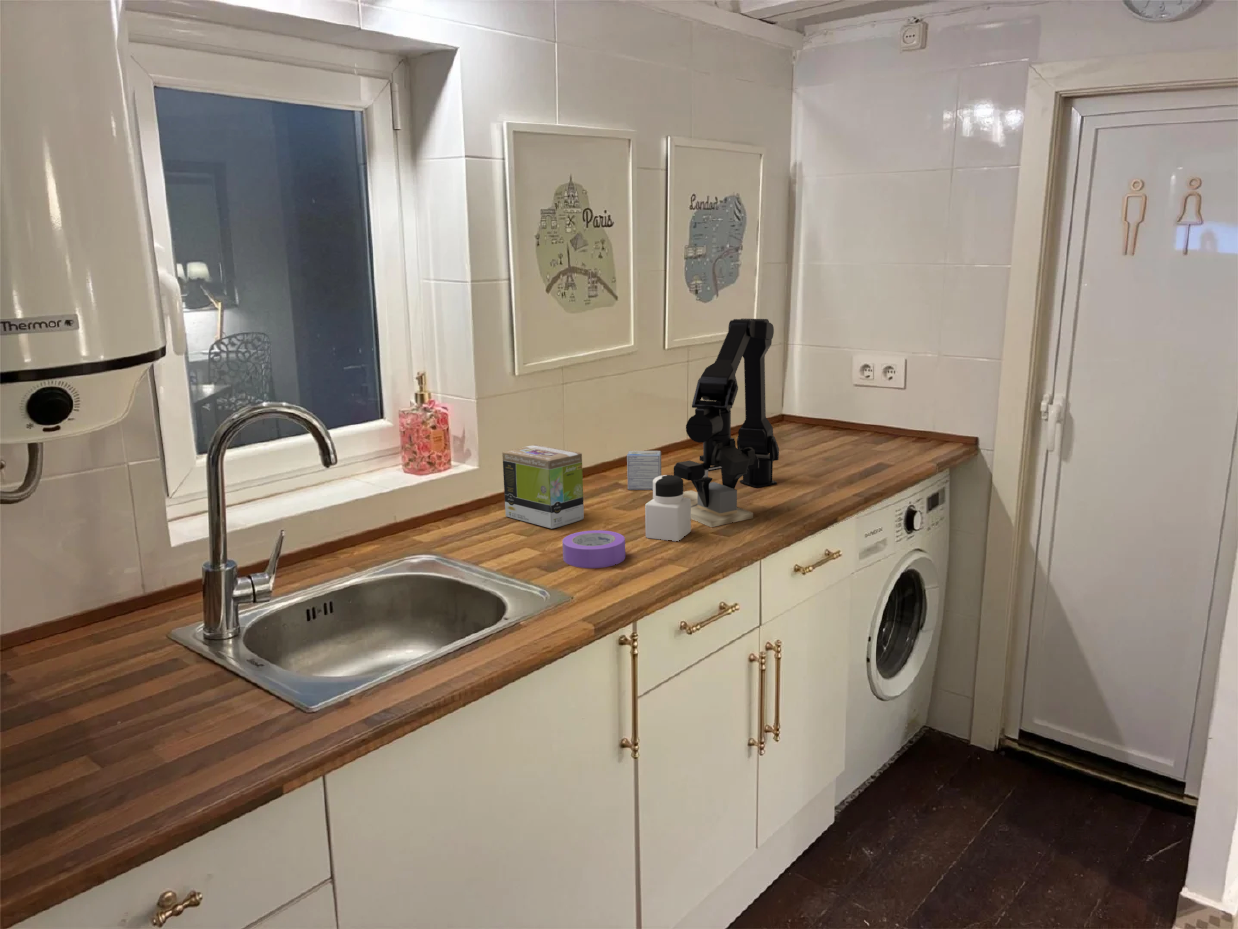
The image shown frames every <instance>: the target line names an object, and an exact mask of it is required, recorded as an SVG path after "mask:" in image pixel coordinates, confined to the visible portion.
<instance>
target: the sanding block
mask: <svg viewBox="0 0 1238 929" xmlns="http://www.w3.org/2000/svg"><path fill="white" fill-rule="evenodd" d="M737 507H738V489H736V488H735V489H733V488H730V487H727V486H724V485H723V484H722V483H720V482H719V483H718V482H715V481H711V482H710V484H709V504H708V507H704V505H703V503H702V501H701V499H700V497H699V495H698V508H700V509H703V510H706V511H708V512H711V513H713V514H716V515H718V516H724V515H728V514H733V513H737Z"/></svg>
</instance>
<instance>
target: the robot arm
mask: <svg viewBox="0 0 1238 929" xmlns="http://www.w3.org/2000/svg"><path fill="white" fill-rule="evenodd" d="M727 330H728V331H727V333H726V336H725V339H724V340H723V343H722V346H721V347H720V350H719V352H718V355H717V357H716V359H715V361H714V363H712V364H710V365H708V366H707V367H705V369H704V371H703V372H702V373H701V376H700V377H699V378H698V380H697V383H696V387H695V392H694V395H693V399H692V404H691V408H692V409H695V410H694V415H692V416H690V417H689V418H688V419H687V421H686V425H685V431H686V434H687V436H688V438H690V440H692V441H693V442H695V443H702V444H703V445H702V446H703V448H702V450H703V451H702V452H703V454H702V455H699V461H700V462H702V463H699V462H696V461H693V460H684V461H679V462H676V463H675V464H674V466H673V475H674V476H678V477H680V478H682V480H686V481H691V484H692V485H693V486H694V489H695V490H696V492H698V495H699V497H700V499H701V501H702V503H703V505H704V507H708V504H709V484H710V483H711V482H713V481H712V480H713V478H712V477H709V472H712V471H713V472H714V471H717V470H720V471H721V472H720V473H721V482H722V483H721V484H722V485H724V486H727V487H730V488H733V489H736V486H737V484H738V482H739V483H740V484H743V485H747V486H750V487H753V488H762V487H767V486H772V485H777V483H778V482H777V481H776V480H773V467H774V466H773V465H774V464H773V462H774V461H779V460H780V458H779V456H780V447H779V445H778V442H777V439H776V437H775V436H774V429H773V428H774V427H773V426H772V424H771V422H770V421H769V419H768V418H767V416H766V415H767V412H766V367H765V365H766V363H765V357H766V354H767V352H768V351H769V349H770V347H771V346H772V340H773V338H774V333H775V329H774V325H773V323H771V322H770V321H769V318H739V319H738V318H734V319H731V320H730V321H729V324H728V329H727ZM742 359H743V364H744V365H743V368H744V369H743V370H744V371H743V373H744V374H743V375H744V410H745V411H744V412H745V413H744V414H745V419H744V421H743V423H742V425H741V426H740V428H739V429H738V431H737V434H738V435H737V439H736V440H735V438H734V437H732V435H731V434H732V432H731V431H732V430H731V428H732V426H731V425H732V423H731V422H732V418H731V417H732V414H731V413H732V410H731V409H733V406H734V403H735V400H736V398H737V394H738V391H739V385H738V381H737V378H736V374H737V370H738V368H739V366H740V363H741V360H742ZM740 478H742V479H740Z"/></svg>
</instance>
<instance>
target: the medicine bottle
mask: <svg viewBox="0 0 1238 929" xmlns="http://www.w3.org/2000/svg"><path fill="white" fill-rule="evenodd" d="M683 492H684V479H683V478H680V477H678V476H674V474H664V475H662V474H661V476H658V477H656V478H655V479H654V480H653V490H652V498H654V499H652V498H651V500H649V501H648V502H647V503H645V505H644V506H645V508H644V509H645V510H644V511H645V515H644V516H645V518H644V519H645V520H644V521H645V523H644V524H645V538H647V539H652V540H660V539H661V540H662V541H668V540H672V541H671V542H676V541H678V542H680V541H681V540H682V539H683V538H685V537H686V536H687V535H688V534H690V532H692V519H691V499H690V498H683ZM684 536H685V537H684ZM661 540H660V541H661ZM679 540H680V541H679Z"/></svg>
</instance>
